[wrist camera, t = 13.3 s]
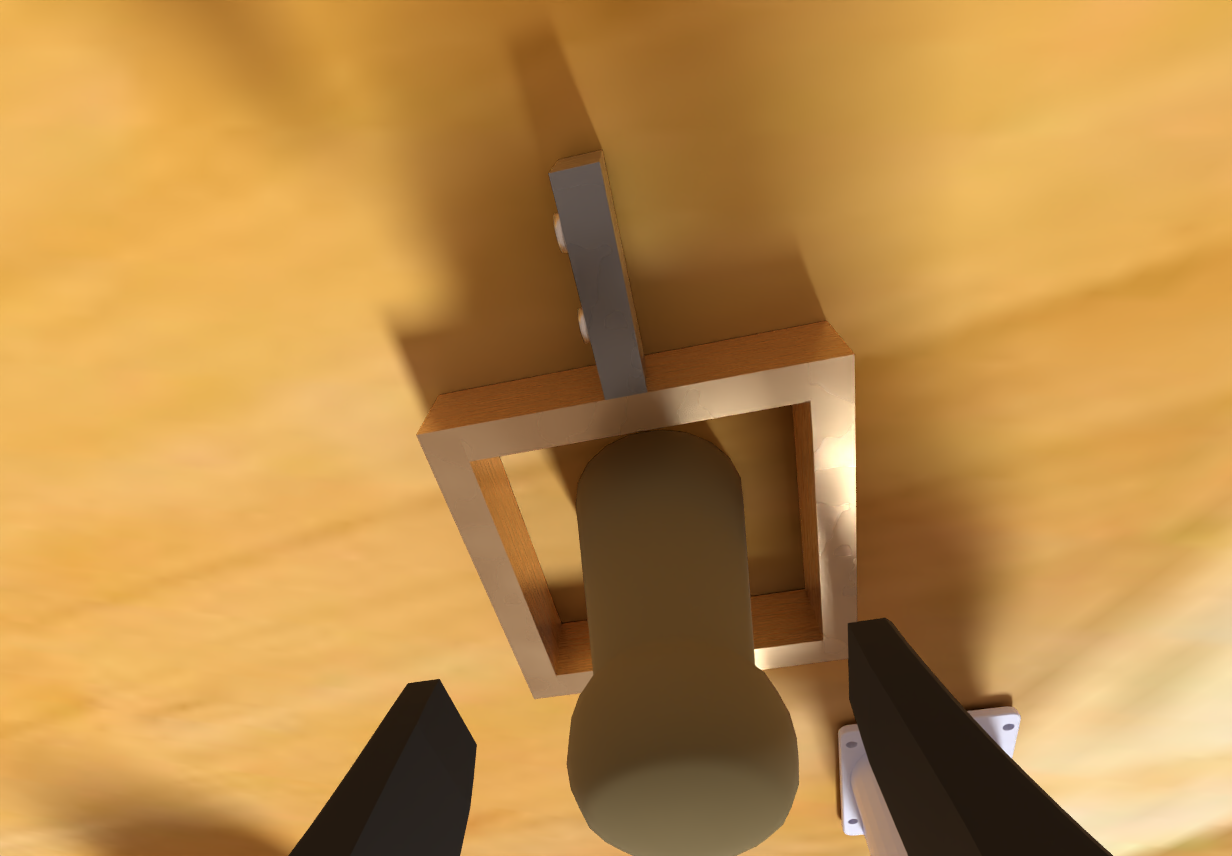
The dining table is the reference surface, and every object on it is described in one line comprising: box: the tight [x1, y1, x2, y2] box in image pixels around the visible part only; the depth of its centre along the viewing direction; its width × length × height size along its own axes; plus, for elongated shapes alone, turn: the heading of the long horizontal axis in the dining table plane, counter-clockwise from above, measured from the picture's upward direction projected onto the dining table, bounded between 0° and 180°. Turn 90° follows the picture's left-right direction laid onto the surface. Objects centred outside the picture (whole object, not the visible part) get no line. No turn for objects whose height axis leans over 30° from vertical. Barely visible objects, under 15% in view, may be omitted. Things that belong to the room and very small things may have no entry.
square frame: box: [416, 150, 857, 699], centre depth 21 cm, size 24×12×2 cm, turn 12°
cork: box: [567, 430, 799, 856], centre depth 17 cm, size 6×6×11 cm
